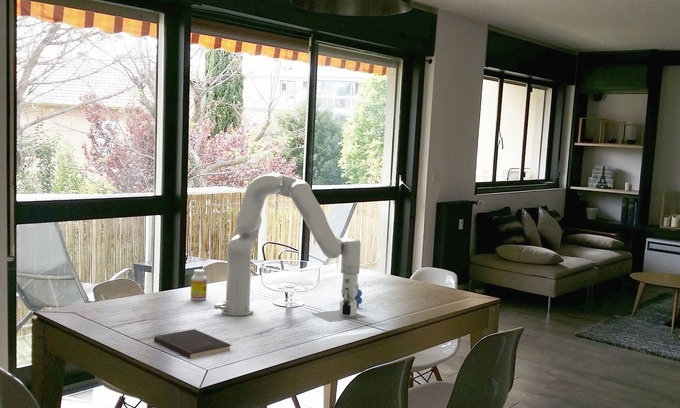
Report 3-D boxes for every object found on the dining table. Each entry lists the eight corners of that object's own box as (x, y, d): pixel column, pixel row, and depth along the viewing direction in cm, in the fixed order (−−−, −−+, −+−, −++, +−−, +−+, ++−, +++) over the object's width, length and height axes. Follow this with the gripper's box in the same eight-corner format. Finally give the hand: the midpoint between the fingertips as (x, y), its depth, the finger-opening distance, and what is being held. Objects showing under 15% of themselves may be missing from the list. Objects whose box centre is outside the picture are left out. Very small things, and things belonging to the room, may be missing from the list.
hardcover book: (194, 335, 245) (194, 328, 244) (231, 351, 228) (231, 344, 228) (153, 342, 234) (154, 336, 233) (189, 360, 217) (189, 353, 217)
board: (329, 325, 264) (329, 310, 263) (310, 317, 276) (311, 302, 275) (366, 320, 274) (367, 306, 273) (347, 312, 286) (347, 298, 285)
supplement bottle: (204, 301, 293) (205, 272, 292) (189, 300, 293) (189, 271, 292) (207, 297, 299) (208, 269, 298) (192, 297, 300) (193, 268, 298)
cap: (358, 315, 276) (359, 300, 276) (345, 316, 273) (346, 302, 272) (350, 311, 282) (350, 297, 281) (336, 313, 278) (337, 298, 278)
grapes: (334, 306, 296) (335, 278, 295) (344, 303, 301) (346, 277, 300) (354, 311, 288) (355, 283, 287) (364, 309, 293) (366, 281, 292)
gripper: (355, 273, 266) (353, 318, 268) (362, 266, 283) (360, 308, 285) (336, 272, 268) (334, 316, 269) (345, 265, 285) (343, 306, 286)
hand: (347, 312), depth 277 cm, fingers closed on cap, 6 cm apart
